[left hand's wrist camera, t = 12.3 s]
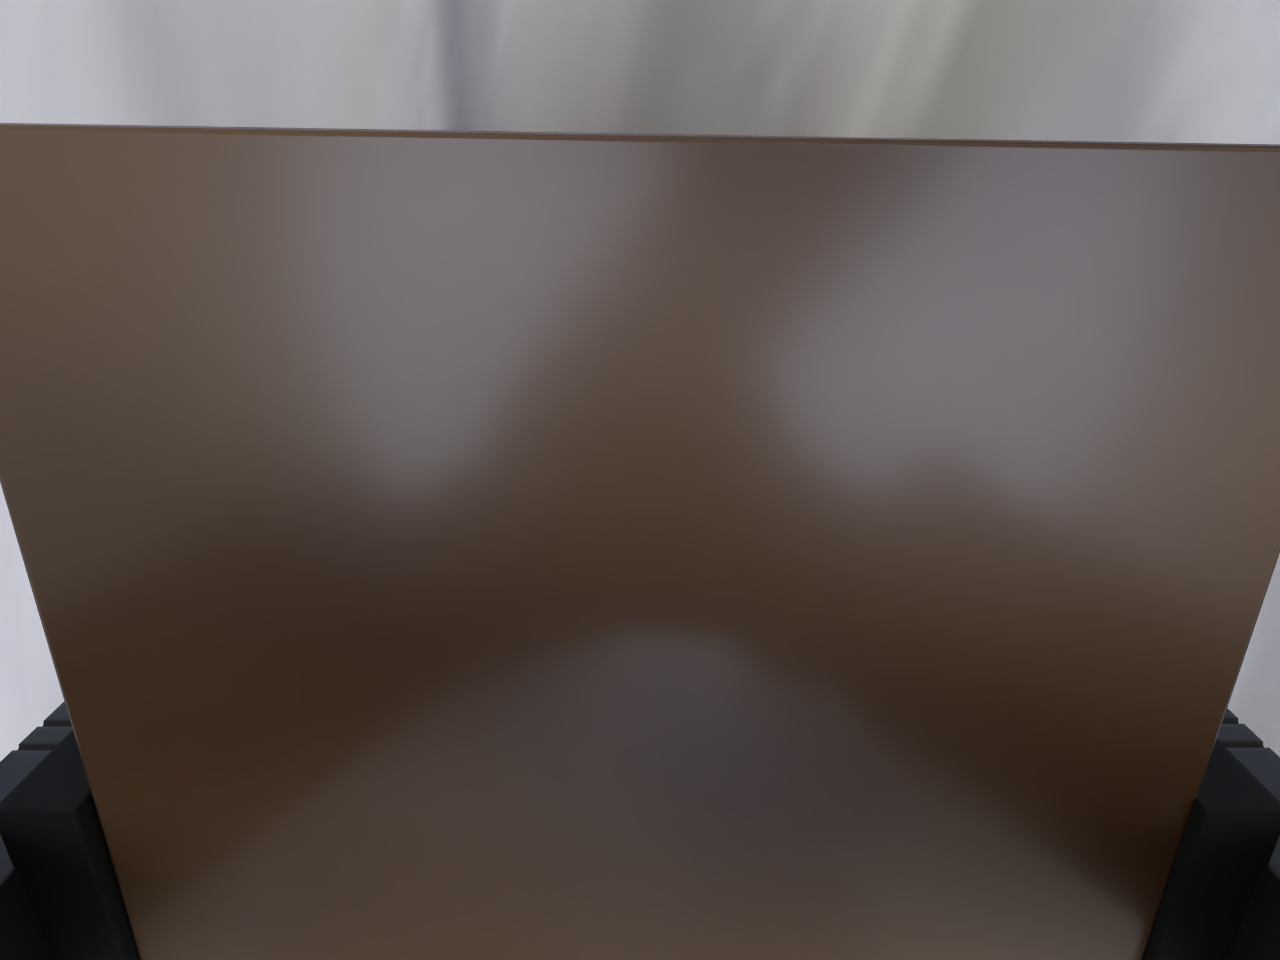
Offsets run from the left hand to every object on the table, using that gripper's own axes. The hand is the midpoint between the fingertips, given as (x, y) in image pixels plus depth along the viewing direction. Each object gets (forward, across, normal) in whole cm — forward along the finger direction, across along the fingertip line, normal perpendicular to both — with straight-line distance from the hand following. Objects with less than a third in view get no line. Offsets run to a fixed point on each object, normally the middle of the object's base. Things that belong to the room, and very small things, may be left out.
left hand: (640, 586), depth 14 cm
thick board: (+1, 0, -20) cm, 20 cm away
